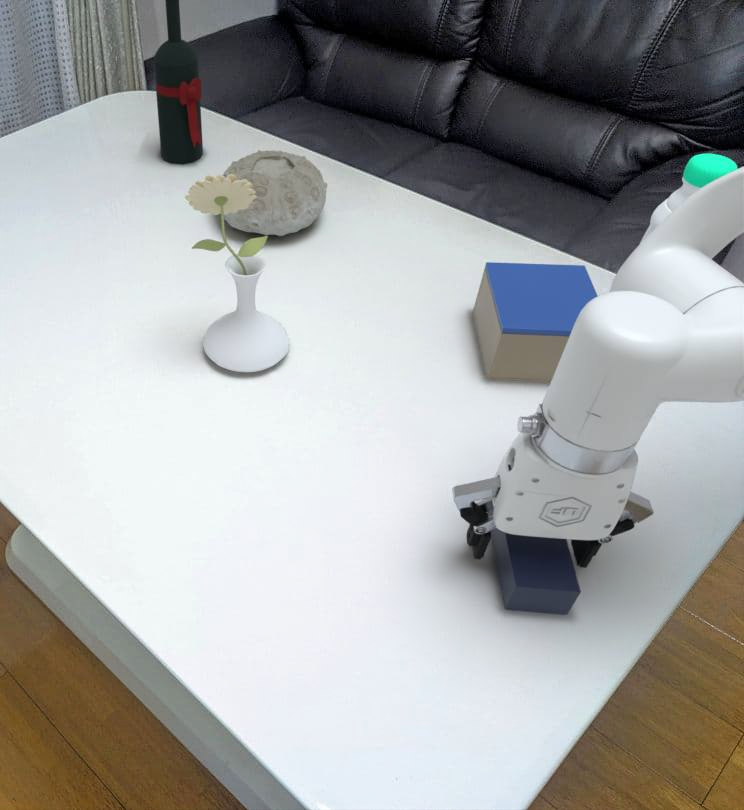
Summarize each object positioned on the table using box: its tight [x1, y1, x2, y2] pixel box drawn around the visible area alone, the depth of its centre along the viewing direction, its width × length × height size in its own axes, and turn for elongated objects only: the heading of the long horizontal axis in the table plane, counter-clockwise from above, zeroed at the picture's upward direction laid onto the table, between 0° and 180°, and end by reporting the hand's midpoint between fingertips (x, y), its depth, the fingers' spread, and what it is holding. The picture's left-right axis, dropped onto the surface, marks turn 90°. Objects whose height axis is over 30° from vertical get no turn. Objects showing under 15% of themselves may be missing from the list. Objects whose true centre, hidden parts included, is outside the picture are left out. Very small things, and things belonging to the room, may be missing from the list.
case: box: [487, 509, 582, 616], centre depth 72 cm, size 12×6×4 cm, turn 173°
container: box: [471, 268, 569, 384], centre depth 93 cm, size 12×14×8 cm
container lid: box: [484, 261, 598, 336], centre depth 90 cm, size 12×14×1 cm
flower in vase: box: [184, 174, 291, 373], centre depth 89 cm, size 13×11×25 cm
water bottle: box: [638, 153, 739, 246], centre depth 87 cm, size 7×7×25 cm
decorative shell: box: [222, 149, 328, 237], centre depth 117 cm, size 18×18×10 cm
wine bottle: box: [153, 0, 204, 165], centre depth 127 cm, size 8×10×30 cm
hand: (526, 551), depth 72 cm, fingers open, 9 cm apart
